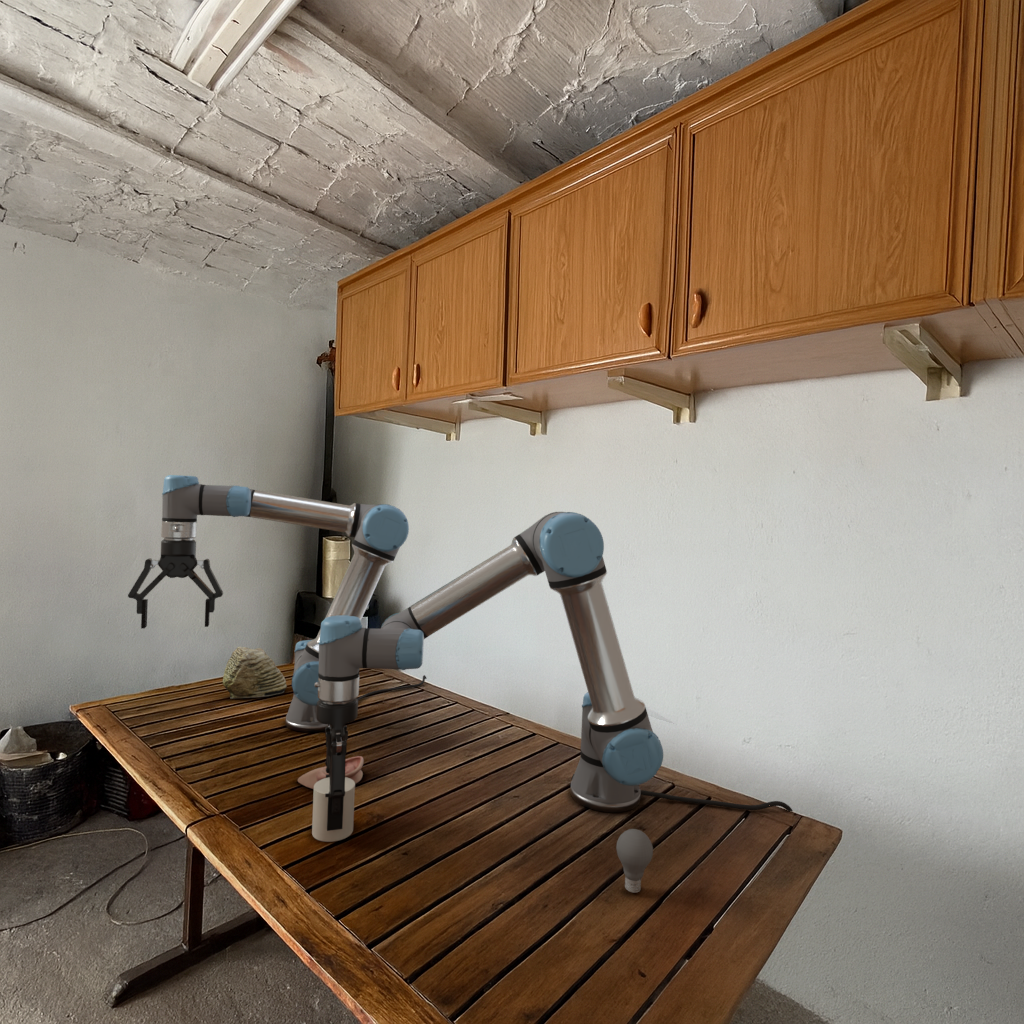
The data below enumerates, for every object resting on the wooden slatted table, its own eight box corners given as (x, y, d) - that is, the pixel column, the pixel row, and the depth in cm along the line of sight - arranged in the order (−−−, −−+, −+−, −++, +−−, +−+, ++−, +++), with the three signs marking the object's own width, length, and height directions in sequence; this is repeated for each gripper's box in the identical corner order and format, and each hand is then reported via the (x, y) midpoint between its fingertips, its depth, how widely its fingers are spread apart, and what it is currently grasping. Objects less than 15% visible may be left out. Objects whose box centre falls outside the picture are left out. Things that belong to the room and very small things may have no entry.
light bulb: (610, 879, 108) (613, 822, 108) (644, 879, 109) (647, 822, 109) (619, 902, 102) (622, 840, 102) (655, 901, 103) (658, 840, 103)
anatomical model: (290, 768, 137) (317, 748, 149) (290, 786, 138) (316, 764, 149) (347, 776, 135) (370, 755, 146) (346, 794, 135) (369, 772, 146)
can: (305, 839, 117) (306, 792, 117) (321, 819, 125) (323, 774, 124) (344, 843, 116) (346, 795, 116) (358, 823, 124) (360, 778, 124)
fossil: (218, 695, 195) (220, 647, 195) (278, 685, 208) (279, 640, 207) (228, 703, 189) (230, 653, 188) (289, 692, 201) (290, 645, 201)
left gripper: (115, 539, 145) (112, 631, 146) (234, 541, 154) (231, 628, 154) (123, 536, 152) (120, 624, 153) (236, 539, 161) (233, 622, 161)
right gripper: (315, 684, 128) (310, 795, 129) (319, 718, 109) (314, 849, 109) (353, 682, 131) (348, 791, 131) (364, 715, 112) (358, 843, 112)
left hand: (175, 626), depth 153 cm, fingers open, 13 cm apart
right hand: (333, 817), depth 120 cm, fingers closed on can, 8 cm apart
